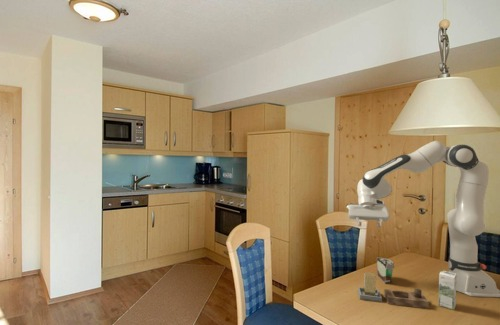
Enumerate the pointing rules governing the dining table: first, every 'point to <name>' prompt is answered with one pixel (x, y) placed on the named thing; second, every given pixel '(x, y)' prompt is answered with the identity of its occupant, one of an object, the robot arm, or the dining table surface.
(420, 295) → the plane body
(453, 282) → the syrup box
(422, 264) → the dining table surface
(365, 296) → the tray
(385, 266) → the food container
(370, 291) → the gold rectangular block
